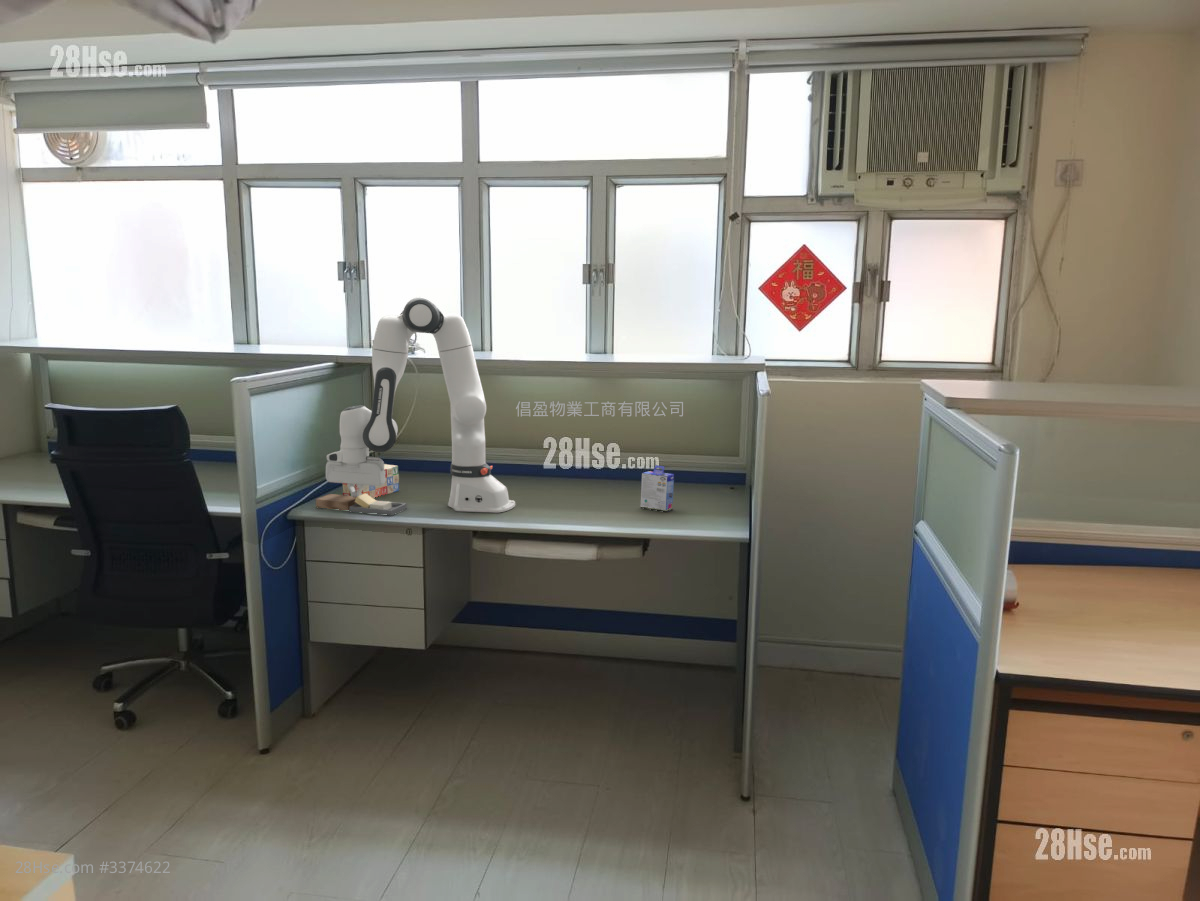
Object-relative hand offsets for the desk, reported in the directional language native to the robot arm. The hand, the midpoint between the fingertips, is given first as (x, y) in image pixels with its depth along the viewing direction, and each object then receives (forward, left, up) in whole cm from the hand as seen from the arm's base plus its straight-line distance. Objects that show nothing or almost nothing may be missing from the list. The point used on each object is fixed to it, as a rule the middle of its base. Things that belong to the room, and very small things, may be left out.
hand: (356, 497), depth 265 cm
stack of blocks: (+5, -17, -4) cm, 19 cm away
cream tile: (-9, 0, -1) cm, 9 cm away
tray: (-8, 0, -4) cm, 9 cm away
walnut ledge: (+6, 0, -4) cm, 8 cm away
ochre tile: (-3, 0, -2) cm, 4 cm away
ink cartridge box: (-94, -32, -4) cm, 99 cm away
